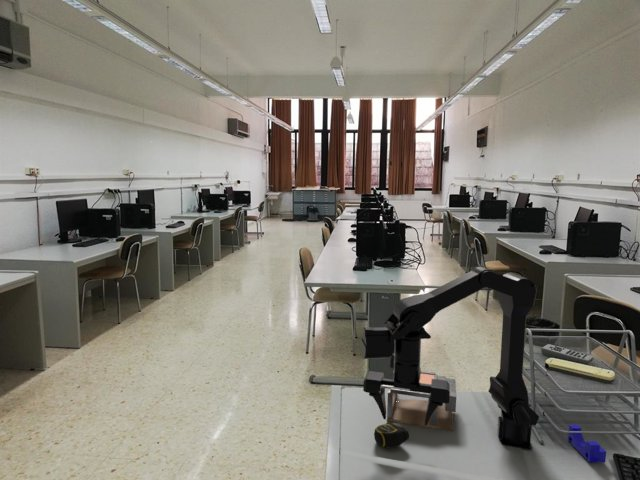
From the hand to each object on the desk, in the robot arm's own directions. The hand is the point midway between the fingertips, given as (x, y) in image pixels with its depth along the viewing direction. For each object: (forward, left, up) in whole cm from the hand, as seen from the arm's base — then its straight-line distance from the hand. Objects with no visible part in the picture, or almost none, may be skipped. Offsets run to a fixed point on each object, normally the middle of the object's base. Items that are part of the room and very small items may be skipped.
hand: (405, 421), depth 98 cm
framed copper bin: (-3, -16, -6) cm, 17 cm away
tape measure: (0, 0, -5) cm, 5 cm away
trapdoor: (-6, -16, +2) cm, 17 cm away
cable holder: (-40, -10, -6) cm, 42 cm away
